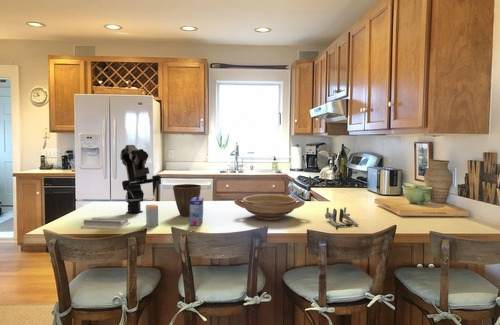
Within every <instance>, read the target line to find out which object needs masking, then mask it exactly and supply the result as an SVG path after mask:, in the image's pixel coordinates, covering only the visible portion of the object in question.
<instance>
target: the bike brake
mask: <svg viewBox="0 0 500 325" xmlns="http://www.w3.org/2000/svg"><path fill="white" fill-rule="evenodd" d="M337 213H338V211H337V209H336V208H333V210H332V213H331V212H330V209H329V207H326V213H324V217H325V219H327V220H329V222H330V223H331V224H332V225H333V226H334V227H335V230H336V231H339V229H338V228H344V227H352V226H354V227H358V226H359V225H360V224H359V223H358V222H357V221H356V220H354V219H353V218H351V217H350V216H351V214H350V213H347V207H346V206H345V207H343V208H340V210H339V217H338V221H339V222H340V223H336V222H337ZM344 219H345V220H347V221H348V222H351V223H343V220H344Z"/></svg>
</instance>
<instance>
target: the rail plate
mask: <svg viewBox="0 0 500 325" xmlns="http://www.w3.org/2000/svg"><path fill="white" fill-rule="evenodd" d="M130 224H131V221H129V220H128V218H126V219H125V218H99V217H98V218H97V217H93V218H91V219H84V220H83V224H82V225H80V228H85V229H86V228H88V229H89V228H90V229H109V230H110V229H112V230H115V229H116V230H118V229H119V230H120V229H123V227H125V226H128V225H130Z"/></svg>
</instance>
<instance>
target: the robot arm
mask: <svg viewBox="0 0 500 325" xmlns="http://www.w3.org/2000/svg"><path fill="white" fill-rule="evenodd" d="M119 158H120V160H121V162H122V163H121V164H122V165H124V166H125V169H126V175H127V179H125V180H122V182H121V184H122V189H123V191H126V194H125V202H126V203H127V211H126V212H125V213H127V214H140V213H143V210H142V209H141V202H144V195H145V193H144V191H143V190H142V185H145V184H150V183H152V194H153V196H152V197H155V194H156V190H157V187H159V185H161V184H162V179H161V175H160V174H156V175H152V176H151V178H148V175H149V174H150V170H149V166H147V167H146V164H147V161H148V159H149V153H147V151H145V150H144V148H140V149H139V148H137V147H136V145H135V144H127V145H125V146H124V148H122V150H121V151H120V156H119Z"/></svg>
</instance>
